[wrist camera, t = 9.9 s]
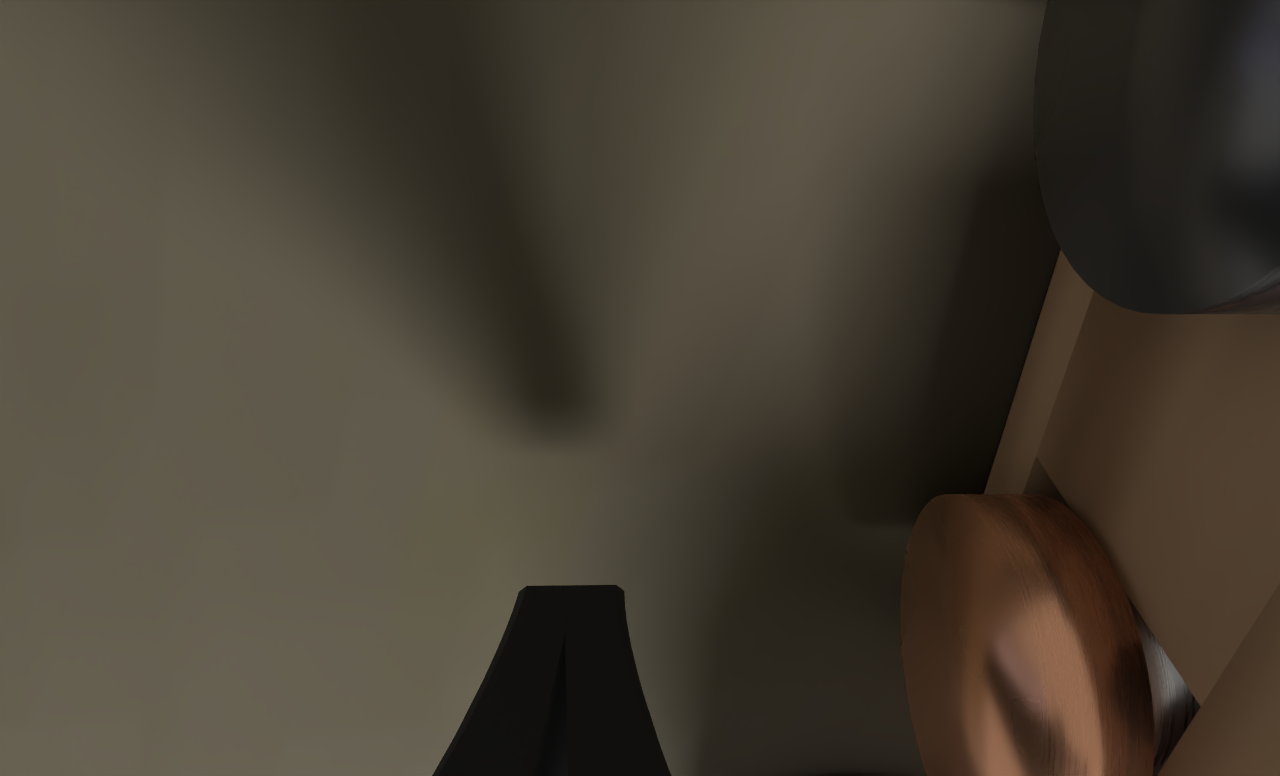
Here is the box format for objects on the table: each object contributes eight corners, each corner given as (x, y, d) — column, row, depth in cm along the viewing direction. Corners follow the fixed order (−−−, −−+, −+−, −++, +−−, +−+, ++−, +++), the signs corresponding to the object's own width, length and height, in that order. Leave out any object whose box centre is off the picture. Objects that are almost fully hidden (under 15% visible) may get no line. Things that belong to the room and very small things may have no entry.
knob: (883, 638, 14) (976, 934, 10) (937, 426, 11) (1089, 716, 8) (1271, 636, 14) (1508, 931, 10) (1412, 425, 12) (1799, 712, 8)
